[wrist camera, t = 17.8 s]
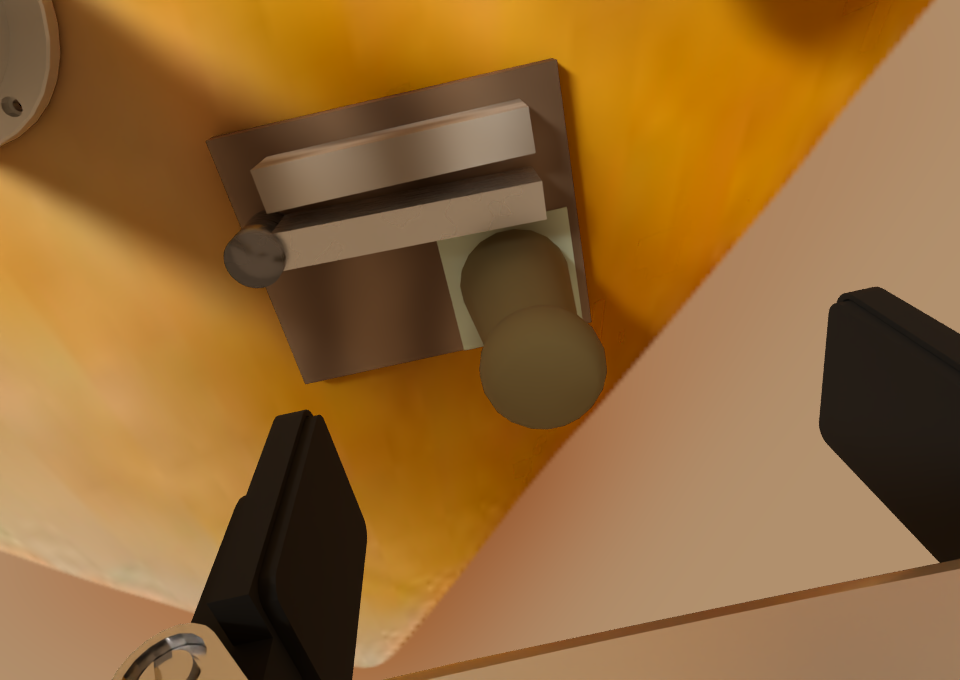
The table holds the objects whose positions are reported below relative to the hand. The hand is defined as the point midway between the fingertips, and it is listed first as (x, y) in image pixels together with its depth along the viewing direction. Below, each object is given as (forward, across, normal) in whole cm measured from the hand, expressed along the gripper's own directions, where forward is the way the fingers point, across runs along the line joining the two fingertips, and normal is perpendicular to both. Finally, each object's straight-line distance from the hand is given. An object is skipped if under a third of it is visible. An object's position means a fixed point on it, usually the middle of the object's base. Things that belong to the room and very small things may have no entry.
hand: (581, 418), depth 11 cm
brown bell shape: (+22, -1, +6) cm, 23 cm away
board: (+23, +4, +3) cm, 23 cm away
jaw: (+21, +5, +1) cm, 22 cm away
